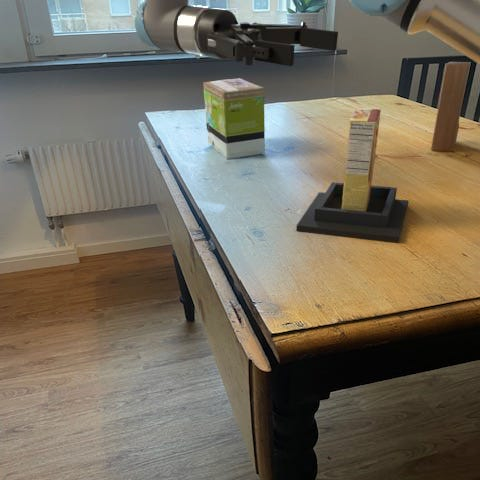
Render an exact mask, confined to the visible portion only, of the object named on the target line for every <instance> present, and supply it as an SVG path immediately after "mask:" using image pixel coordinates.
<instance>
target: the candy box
mask: <svg viewBox="0 0 480 480" xmlns="http://www.w3.org/2000/svg"><path fill="white" fill-rule="evenodd" d="M380 121H381V109H378V108H365V107H363V108H361V107H359V108H356V109H355V110H354V112H353V114H352V116H351V117H350V119H349V123H348V124H349V127H348V138H347V147H346V158H345V168H344V169H345V170H344V178H343V183H344V187H343V198H342V208H341V209H344V210H354V211H364V212H366V211H367V207H368V204H369V199H370V191H371V186H372V182H373V175H374V167H375V160H376V151H377V143H378V136H379V127H380Z"/></svg>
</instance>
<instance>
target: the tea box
mask: <svg viewBox="0 0 480 480" xmlns="http://www.w3.org/2000/svg"><path fill="white" fill-rule="evenodd" d="M202 85H203V98H204V100H203V101H204V111H205V124H206V136H207V137H206V138H207V143H208V144H209V145H210V146H211V147H212V148H213V149H214V150H216V151H217V152H218V153H220V154H221V155H222V156H223V157H224V158H225V159H226V160H231V159H238V158H245V157H251V156H257V155H263V154H266V139H265V138H266V137H265V134H266V133H265V132H266V129H265V128H266V127H265V126H266V125H265V88H264V87H262V86H260V85H257V84H255V83H252V82H251V81H247V80H245V79H243V78H239V77H238V78H230V79H229V78H228V79H220V80H213V81H203V84H202Z"/></svg>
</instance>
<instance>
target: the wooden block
mask: <svg viewBox="0 0 480 480" xmlns="http://www.w3.org/2000/svg"><path fill="white" fill-rule="evenodd" d="M470 67H471V62H470V61H449V62H447V63H446V64H445V68H444V72H443V79H442V84H441V90H440V96H439V100H438V107H437V113H436V118H435V123H434V129H433V136H432V141H431V147H430V150H431V151H434V152H435V151H436V152H444V153H445V152H446V153H450V152H452V151H453V148H454V147H455V144H456V143H457V138H458V134H459V128H460V117H461V111H462V107H463V101H464V96H465V91H466V86H467V81H468V77H469V72H470Z"/></svg>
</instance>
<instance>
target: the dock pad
mask: <svg viewBox="0 0 480 480" xmlns="http://www.w3.org/2000/svg"><path fill="white" fill-rule="evenodd" d="M343 187H344V182H334V181H332V182H331V183H330V185H329V186H328V188H327V190H326V191H325V192H322V191H321V192H318V193H317V195H315V197H314V199H313V200H312V202H311V203H310V205H309V206H308V208H307V209H306V210H305V212H304V214H303V216H302V217H301V219H300V220H299V221H298V223H297V224H296V229H295V231H296V232H300V233H301V232H302V233H310V234H319V235H328V236H337V237H345V238H353V239H360V240H361V239H363V240H369V241H370V240H371V241H379V242H386V243H387V242H388V243H397V244H398V243H399V242H400V238H401V234H402V230H403V226H404V222H405V218H406V213H407V210H408V206H409V200H408V199H398V198H397V191H398V187H395V186H394V187H393V186H392V187H391V186H381V185H371V191H370V199H369V204H368V207H367V211H366V212H364V211H354V210H344V209H341V208H342V198H343Z"/></svg>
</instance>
